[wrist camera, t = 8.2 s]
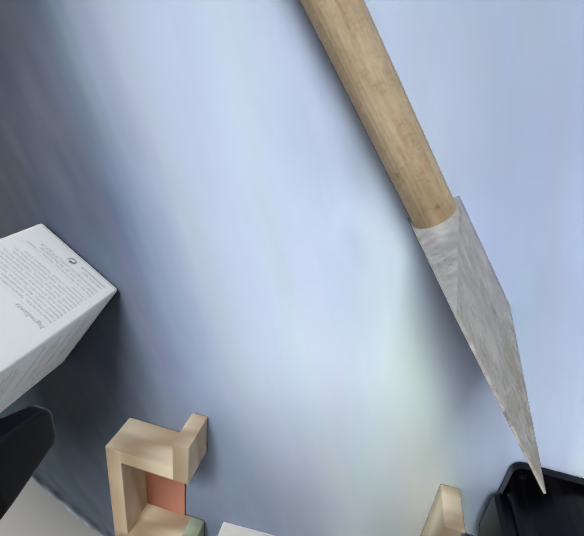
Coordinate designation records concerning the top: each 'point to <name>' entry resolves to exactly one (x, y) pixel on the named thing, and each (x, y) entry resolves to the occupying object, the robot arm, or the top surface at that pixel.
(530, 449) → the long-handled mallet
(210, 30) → the top surface
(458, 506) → the u-shaped wooden frame
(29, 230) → the small box
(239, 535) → the cream block
